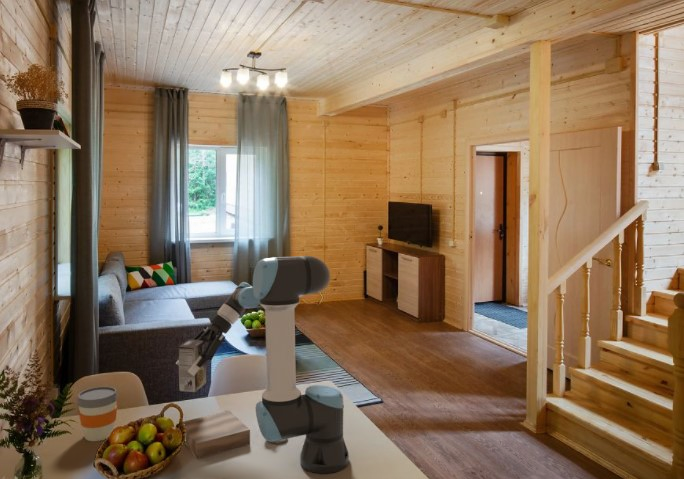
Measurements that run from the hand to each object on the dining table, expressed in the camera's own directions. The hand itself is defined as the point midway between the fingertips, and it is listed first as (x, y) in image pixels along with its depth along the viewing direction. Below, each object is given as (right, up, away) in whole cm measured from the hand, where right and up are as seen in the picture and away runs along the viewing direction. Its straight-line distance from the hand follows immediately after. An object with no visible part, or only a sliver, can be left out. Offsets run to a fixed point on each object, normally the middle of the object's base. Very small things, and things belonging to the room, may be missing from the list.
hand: (184, 369), depth 190 cm
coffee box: (+2, -7, +3) cm, 8 cm away
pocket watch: (+33, -22, -7) cm, 40 cm away
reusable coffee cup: (-28, -22, -5) cm, 36 cm away
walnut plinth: (+13, -22, -8) cm, 27 cm away
